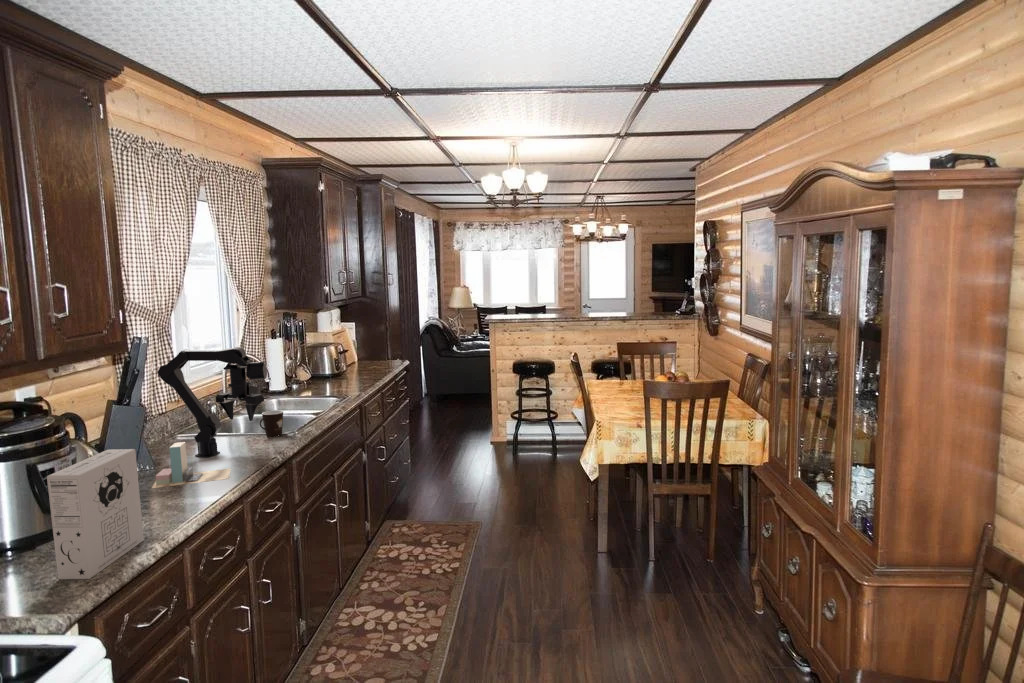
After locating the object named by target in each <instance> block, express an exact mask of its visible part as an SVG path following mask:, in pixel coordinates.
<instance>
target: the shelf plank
mask: <svg viewBox="0 0 1024 683" xmlns="http://www.w3.org/2000/svg"><path fill="white" fill-rule="evenodd" d="M231 470H232V469H231V468H224V469H216V470H215V469H214V470H207V471H199V472H193V474H203V475H202V476H201V477H200V478H199V480H198V481H193V482H185V480H184V481H183V482H178V483H172V482H171V483H170V484H161V485H156V480H155V481H154V483H153V485H152V486H151V489H156V488H165V487H172V486H181V485H182V486H183V485H189V484H197V483H205V482H213V481H214V482H215V481H222V480H229V478H230V475H231V474H230V473H231Z"/></svg>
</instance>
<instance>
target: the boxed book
mask: <svg viewBox="0 0 1024 683" xmlns="http://www.w3.org/2000/svg"><path fill="white" fill-rule="evenodd" d="M168 448H169V458H170V468H171V472H172V483H178V482H183V481H184V480H185V479H184V473H185V472H186V471H187V470H188V469H189V468H188V457H187V443H186V441H180V442H179V441H178V442H174V443H172V445H171V446H169V447H168Z"/></svg>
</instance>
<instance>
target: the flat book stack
mask: <svg viewBox="0 0 1024 683" xmlns="http://www.w3.org/2000/svg"><path fill="white" fill-rule="evenodd" d="M155 481H156V485H161V484H170V483H171V482H172V472H171V467H169V468H162V470H160V471H159V472H158V473H156V475H155Z"/></svg>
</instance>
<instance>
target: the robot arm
mask: <svg viewBox="0 0 1024 683" xmlns="http://www.w3.org/2000/svg"><path fill="white" fill-rule="evenodd" d="M196 361H197V362H199V361H200V362H201V361H202V362H203V361H205V362H206V361H210V362H212V361H213V362H214V361H215V362H216V361H217V362H223V363H224V364H225V363H226V366H224V367H223V370H224V371H225V370H227V371H228V370H229V378H230V379H229V381H230V382H229V383H227V384H228V385H227V386H228V387H230V392H222V393H218V394H216V396H215V403H218V405H220V406H221V408H222V409H223V410H224V412H225V413H226V415H227V417H228V418H229V420H234V404H235V402H236V401H240V402H241V401H243V402H245V403H246V404H245V410H246V412H247V417H248V420H249V421H250V422H251V421H252V422H253V419H254V417H255V413H256V410H257V407H258V406H259V405H261V404H262V403H263V402H265V396H264V395H263V394H262V393H259V387H258V386H253V385H251V384H250V381H247V379H249V380H251V381H253V380H255V381H257V380H267V378H268V369H267V366H266V362H265V360H264V361H255V362H253V361H252V360H251V359H250V357H249V356H248V355H247V352H246V351H245V349H244V348H243V347H240V346H237V347H231V348H226V349H221V350H220V349H218V350H215V349H213V350H211V349H210V350H206V349H205V350H202V349H201V350H200V349H199V350H194V349H193V350H192V349H184V350H181V351H179V352H178V354H176V356H174V357H173V358H172V359H171V360H170V361H169V362H168V363H166V364H164V365H161V366H160V367H159V368H158V371H157V375H158V377H159V379H161V380H162V381H163V382H164V383H165V384H167V385H168V386H169V387H171V388H173V389H174V391H175V392H176V394H177V395H178V396H179V398H180V399H181V400H182V402H183V403H184V404H185V405H186V407H187V409H188V410H189V412H190V413H191V414H192V416H193V417H194V419H195V420H196V424H197V428H198V430H199V432H198V433H197V434H196V435H195V436H194V440H195V443H196V445H197V446H196V447H197V454H194V457H200V458H210V457H213V456H216V455H218V454H220V453H221V451H219V450H218V442H217V438H216V437H217V435H218V433H219V432H220V431H221V428H222V423H221V419H220V418H219V417H218V416H217V414H216V412H213V413H210V412H208V411H207V410H206V408H205V407H204V405H203V404H202V403H201V401H200V400H199V398H198V397H197V396H196V395H195V393H194V392H193V391H192V389H191V388H190V386H189V385H188V384H187V382H186V380H185V376H184V373H183V370H182V369H183V368H184V367H185V365H186V364H187V363H188V362H196Z"/></svg>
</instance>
